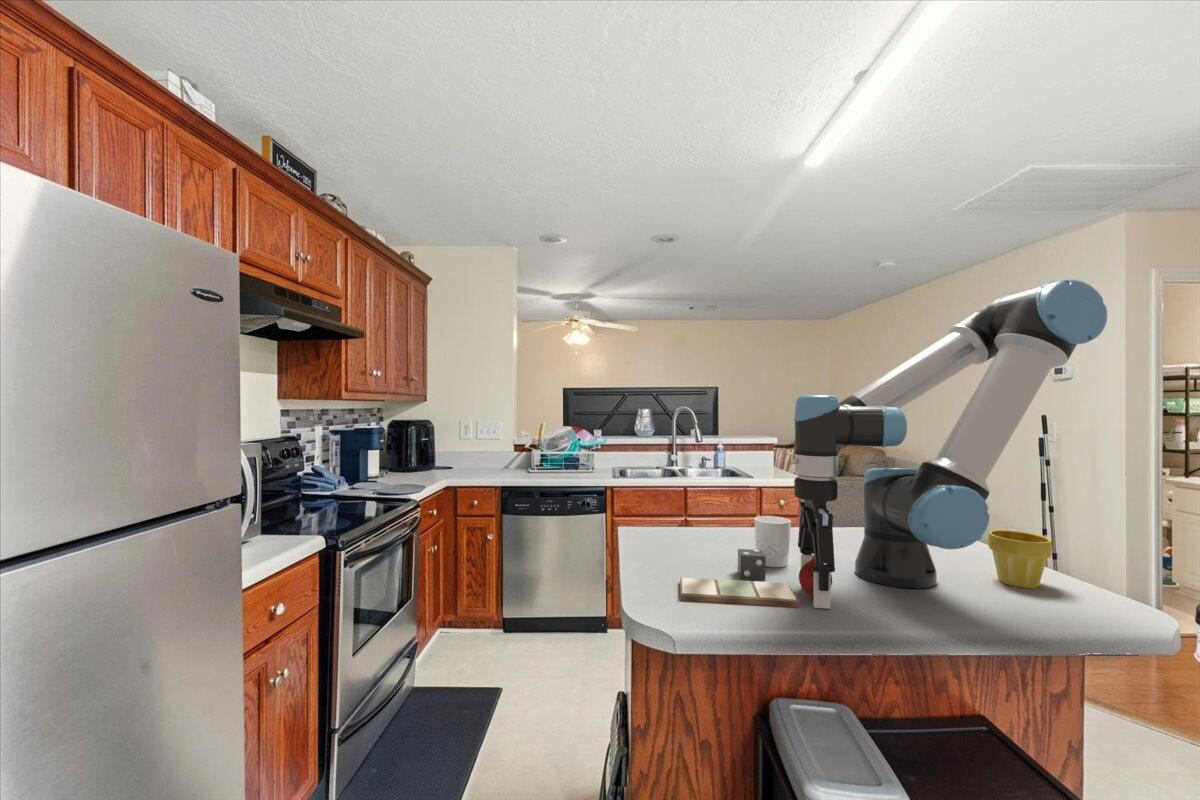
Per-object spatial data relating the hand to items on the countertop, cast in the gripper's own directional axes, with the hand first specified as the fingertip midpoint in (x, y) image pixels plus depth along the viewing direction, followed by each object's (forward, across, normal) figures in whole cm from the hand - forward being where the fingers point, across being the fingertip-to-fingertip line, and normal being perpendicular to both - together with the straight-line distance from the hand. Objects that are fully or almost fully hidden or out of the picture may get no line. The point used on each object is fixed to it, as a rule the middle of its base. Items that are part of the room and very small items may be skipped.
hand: (814, 597), depth 101 cm
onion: (0, 0, 0) cm, 0 cm away
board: (0, 0, -14) cm, 14 cm away
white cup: (0, -22, -4) cm, 22 cm away
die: (0, -12, -10) cm, 16 cm away
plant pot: (0, -16, +44) cm, 47 cm away
